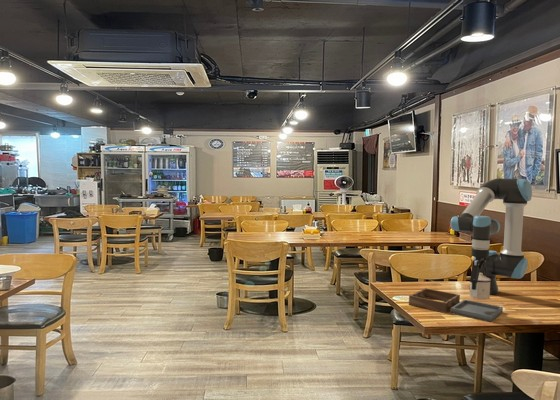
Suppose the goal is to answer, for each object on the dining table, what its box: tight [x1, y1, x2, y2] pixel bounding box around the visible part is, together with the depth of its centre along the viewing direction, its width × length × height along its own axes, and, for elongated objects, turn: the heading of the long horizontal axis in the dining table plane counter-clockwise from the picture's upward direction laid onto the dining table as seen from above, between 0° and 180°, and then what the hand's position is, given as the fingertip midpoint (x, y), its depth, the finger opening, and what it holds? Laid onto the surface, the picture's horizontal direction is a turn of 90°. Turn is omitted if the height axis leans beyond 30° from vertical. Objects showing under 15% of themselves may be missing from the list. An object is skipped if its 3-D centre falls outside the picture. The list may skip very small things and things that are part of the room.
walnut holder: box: [408, 287, 461, 314], centre depth 217 cm, size 21×18×4 cm
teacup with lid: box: [469, 273, 491, 300], centre depth 204 cm, size 12×9×12 cm
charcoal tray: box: [450, 299, 504, 323], centre depth 205 cm, size 20×18×2 cm
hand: (477, 293), depth 204 cm, fingers closed on teacup with lid, 11 cm apart
